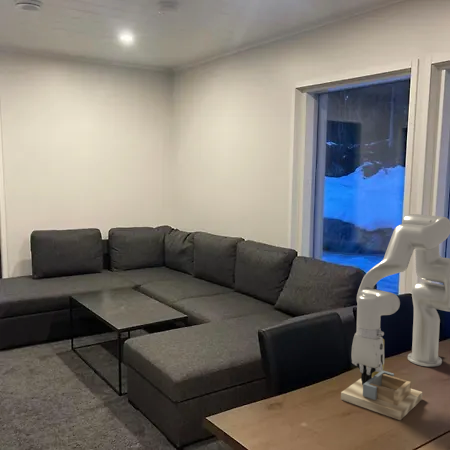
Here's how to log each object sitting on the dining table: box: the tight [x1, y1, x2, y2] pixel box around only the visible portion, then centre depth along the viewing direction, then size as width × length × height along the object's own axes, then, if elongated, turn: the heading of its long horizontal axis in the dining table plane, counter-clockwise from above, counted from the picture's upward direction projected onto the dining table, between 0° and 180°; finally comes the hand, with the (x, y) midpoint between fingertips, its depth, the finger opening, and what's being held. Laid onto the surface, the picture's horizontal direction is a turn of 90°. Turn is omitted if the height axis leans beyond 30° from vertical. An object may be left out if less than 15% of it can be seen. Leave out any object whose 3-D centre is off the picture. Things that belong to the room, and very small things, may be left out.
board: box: [340, 374, 423, 421], centre depth 160 cm, size 18×20×6 cm
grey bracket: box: [363, 370, 395, 400], centre depth 160 cm, size 14×4×4 cm, turn 138°
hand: (366, 384), depth 164 cm, fingers closed
